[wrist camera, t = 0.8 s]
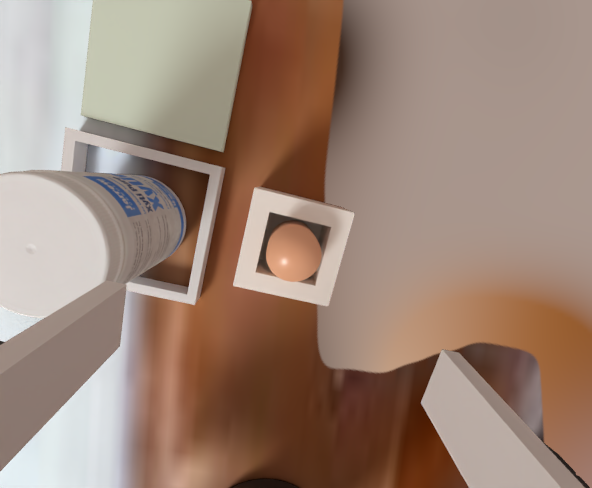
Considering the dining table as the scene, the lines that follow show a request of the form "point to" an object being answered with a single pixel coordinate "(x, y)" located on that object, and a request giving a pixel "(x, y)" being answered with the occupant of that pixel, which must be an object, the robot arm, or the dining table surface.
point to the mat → (166, 66)
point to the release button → (293, 251)
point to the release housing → (323, 223)
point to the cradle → (77, 157)
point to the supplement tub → (80, 234)
